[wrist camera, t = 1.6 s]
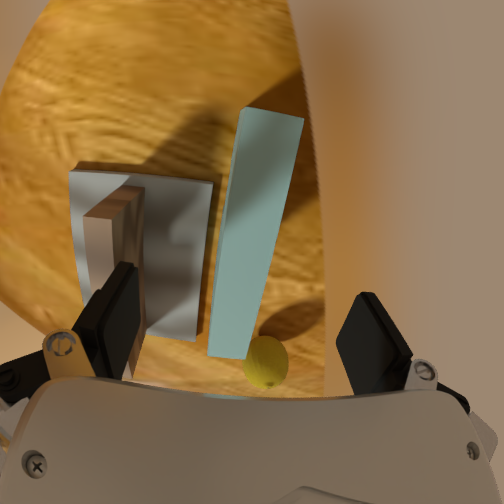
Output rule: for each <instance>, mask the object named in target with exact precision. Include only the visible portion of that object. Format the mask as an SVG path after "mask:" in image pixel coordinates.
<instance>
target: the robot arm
mask: <svg viewBox="0 0 504 504" xmlns="http://www.w3.org/2000/svg"><path fill="white" fill-rule="evenodd" d="M140 323H141V312H140V297H139V275H138V267H134V263H131V262H125V261H120V262H119V263H118V264H117V266H116V267H115V269H114V270H113V272H112V273H111V275H110V276H109V278H108V279H107V281H106V282H105V284H104V285H103V287H102V288H101V289H97V290H96V291H95V292H94V294H93V295H92V297H91V298H90V300H89V301H88V303H87V305H86V306H85V308H84V309H83V311H82V313H81V314H80V316H79V318H78V319H77V321H76V322H75V324H74V326H73V328H72V329H71V330H69V329H56V330H54V331H52V332H50V333H49V334H48V335H47V336H46V337H45V338H44V340H43V343H42V348H43V349H42V350H40V351H37V352H34V353H31V354H29V355H26V356H23V357H20V358H17V359H15V360H12V361H9V362H6V363H4V364H2V365H0V504H502V501H501V498H500V494H499V490H498V487H497V484H496V481H495V478H494V474H493V471H492V469H491V466H490V463H489V462H490V460H491V458H492V456H493V453H494V451H495V449H496V446H497V443H498V438H497V435H496V433H495V432H494V431H493V430H492V429H491V428H490V427H489V426H488V425H487V424H486V423H485V422H484V421H483V420H482V419H480V418H479V417H478V416H477V415H476V414H475V413H474V412H473V411H472V412H471V413H469V412H470V406H469V403H468V401H467V399H466V398H465V397H464V396H462V395H460V394H458V393H457V392H455V391H453V390H451V389H450V388H448V387H446V386H444V385H443V384H441V383H439V382H437V380H438V373H437V370H436V369H435V367H434V366H433V365H432V364H431V363H429V362H428V361H426V360H423V359H415V360H414V361H411V357H412V356H413V353H412V351H411V350H410V348H409V346H408V345H407V343H406V341H405V340H404V338H403V337H402V335H401V333H400V332H399V330H398V329H397V327H396V325H395V324H394V322H393V321H392V319H391V318H390V316H389V315H388V313H387V311H386V310H385V308H384V307H383V305H382V304H381V302H380V301H379V299H378V298H377V296H376V295H375V294H374V293H372V292H361V293H360V294H359V295H357V296H356V298H355V300H354V302H353V305H352V307H351V309H350V311H349V313H348V315H347V318H346V320H345V322H344V324H343V326H342V328H341V330H340V332H339V335H338V336H337V339H336V346H337V349H338V352H339V354H340V357H341V359H342V362H343V365H344V367H345V370H346V373H347V376H348V378H349V381H350V384H351V387H352V389H353V392H354V395H350V396H335V397H311V398H269V397H246V396H230V395H218V394H208V393H199V392H190V391H183V390H176V389H169V388H162V387H156V386H150V385H144V384H139V383H133V382H128V381H122V380H121V379H122V376H123V373H124V370H125V367H126V364H127V361H128V358H129V355H130V352H131V349H132V347H133V344H134V341H135V338H136V335H137V333H138V330H139V327H140Z"/></svg>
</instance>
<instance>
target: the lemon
mask: <svg viewBox="0 0 504 504" xmlns="http://www.w3.org/2000/svg"><path fill="white" fill-rule="evenodd" d="M242 365H243V370H244V373H245V375H246V377H247V379H248V381H249V382H250V383H251V384H253V385H254V386H256V387H258V388H262V389H270V388H274V387H276V386H278V385H279V384H280V383H282V381H283V380H284V379H285V377H286V375H287V372H288V354H287V352H286V349H285V347H284V346H283V344H282V343H281V342H280V341H279V340H277V339H276V338H274V337H271V336H259V337H256V338H254V339H253V340H251V341H250V344H249V348H248V352H247V355H246V359H242Z"/></svg>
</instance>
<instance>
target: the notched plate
mask: <svg viewBox="0 0 504 504" xmlns="http://www.w3.org/2000/svg"><path fill="white" fill-rule="evenodd" d="M303 123H304V118H300V117H295V116H291V115H287V114H282V113H277V112H272V111H267V110H262V109H257V108H251V107H245V108H243V109H242V110H240V115H239V121H238V126H237V132H236V137H235V143H234V148H233V154H232V160H231V169H230V175H229V181H228V188H227V194H226V200H225V206H224V208H223V215H222V221H221V228H220V235H219V242H218V248H217V257H216V266H215V276H214V286H213V296H212V306H211V317H210V328H209V340H208V353H207V356H213V357H223V358H233V359H246V355H247V352H248V348H249V344H250V340H251V337H252V333H253V329H254V325H255V322H256V318H257V314H258V310H259V306H260V302H261V299H262V295H263V291H264V287H265V283H266V279H267V275H268V271H269V267H270V263H271V259H272V255H273V251H274V247H275V243H276V239H277V235H278V231H279V227H280V223H281V219H282V214H283V210H284V206H285V202H286V198H287V193H288V189H289V185H290V181H291V176H292V172H293V168H294V163H295V159H296V155H297V150H298V146H299V141H300V137H301V132H302V128H303Z"/></svg>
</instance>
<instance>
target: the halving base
mask: <svg viewBox="0 0 504 504" xmlns="http://www.w3.org/2000/svg"><path fill="white" fill-rule="evenodd" d="M213 183H214V182H210V181H202V180H195V179H187V178H178V177H169V176H160V175H150V174H139V173H127V172H114V171H100V170H81V169H73V170H71V171H69V196H70V213H71V225H72V235H73V244H74V251H75V259H76V265H77V271H78V277H79V283H80V288H81V293H82V298H83V303H84V307H85V306H86V305H87V303H88V301H89V300H90V298H91V297H92V295H93V294H94V292H95V291H96V290H97V289H101V288H102V287H103V285H104V284H105V282H106V281H107V279H108V278H109V276H110V275H111V273H112V272H113V270H114V269H115V267H116V266H117V264H118V263H119V262H120V261H125V262H131V263H134V267H138V275H139V297H140V312H141V323H140V327H139V330H138V333H137V335H136V338H135V341H134V344H133V347H132V349H131V352H130V355H129V358H128V361H127V364H126V367H125V370H124V373H123V376H122V377H125V378H129V379H132V378H133V374H134V371H135V367H136V364H137V360H138V357H139V353H140V350H141V347H142V344H143V340H144V337H145V334H148V335H153V336H159V337H165V338H172V339H178V340H185V341H193V342H196V333H197V321H198V309H199V298H200V288H201V278H202V269H203V260H204V251H205V242H206V234H207V226H208V218H209V211H210V204H211V196H212V189H213Z"/></svg>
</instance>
